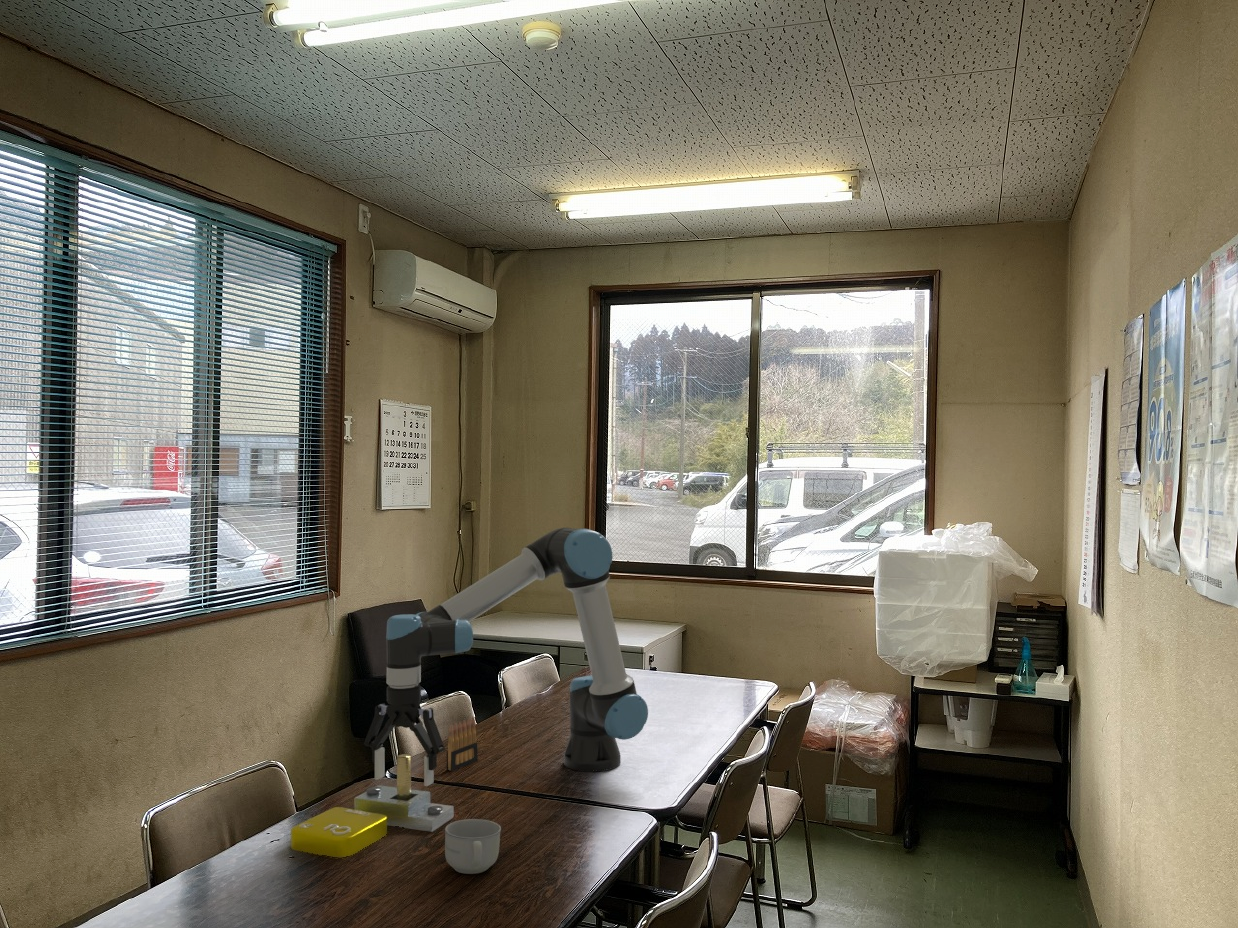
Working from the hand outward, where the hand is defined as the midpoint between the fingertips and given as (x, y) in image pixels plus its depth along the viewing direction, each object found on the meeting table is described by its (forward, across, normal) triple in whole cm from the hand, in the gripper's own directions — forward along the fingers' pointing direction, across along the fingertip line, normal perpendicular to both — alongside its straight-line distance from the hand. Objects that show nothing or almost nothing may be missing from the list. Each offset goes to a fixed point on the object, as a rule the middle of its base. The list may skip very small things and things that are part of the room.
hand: (404, 780), depth 205 cm
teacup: (+9, -28, +19) cm, 35 cm away
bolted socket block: (+8, 0, 0) cm, 8 cm away
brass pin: (+8, 0, 0) cm, 8 cm away
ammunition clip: (+9, +7, -38) cm, 40 cm away
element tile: (+9, +6, +15) cm, 19 cm away
